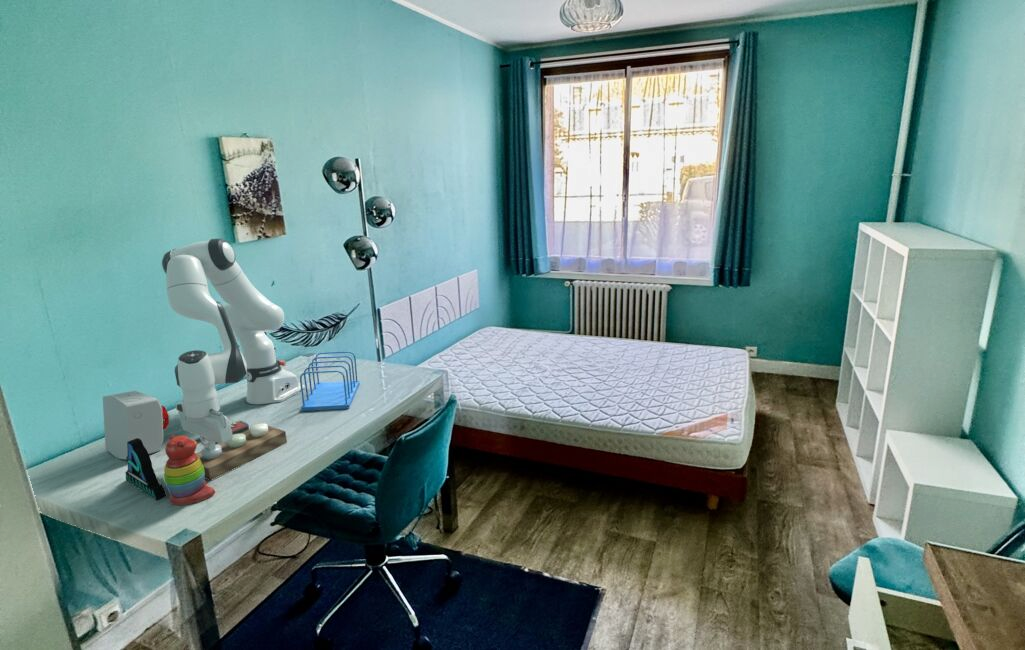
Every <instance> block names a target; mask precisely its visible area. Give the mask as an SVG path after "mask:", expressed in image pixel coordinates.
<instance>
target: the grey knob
mask: <svg viewBox="0 0 1025 650" xmlns="http://www.w3.org/2000/svg"><path fill="white" fill-rule="evenodd" d="M215 447H216V449H215V450H212V451H209V450H207V449H205V448H204V447H203V448H202V449H201V452H202V457H203V459H204V460H212V459H215V458H218V457H220V456H221V455H222V449H221V446H220V445H216V444H215Z"/></svg>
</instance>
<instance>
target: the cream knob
mask: <svg viewBox="0 0 1025 650" xmlns="http://www.w3.org/2000/svg"><path fill="white" fill-rule="evenodd" d="M268 426H269V425H268V424H267V423H264V422H263V423H257V424H253V425H252V426H250V427H249V429H250V432H251V436H253V437H260V436H264V435H266V434H267V433H268V432H269V431H268Z"/></svg>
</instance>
